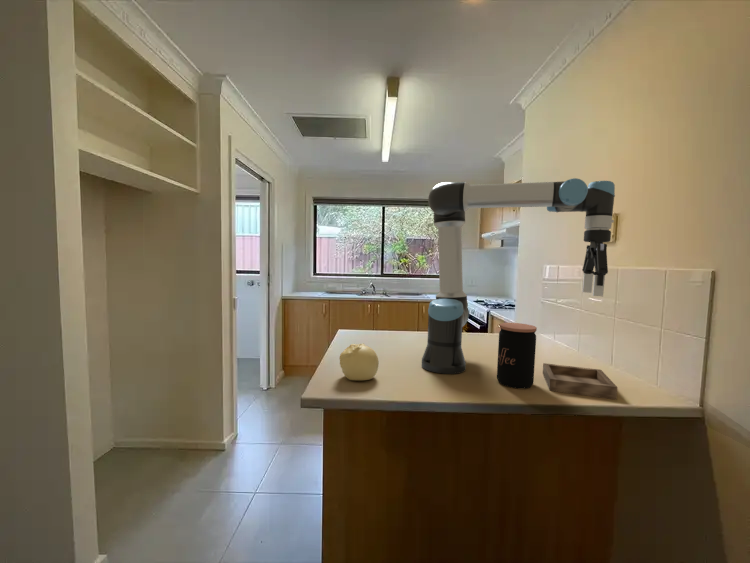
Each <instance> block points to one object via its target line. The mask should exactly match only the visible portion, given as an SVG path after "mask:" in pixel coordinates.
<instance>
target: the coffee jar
mask: <svg viewBox="0 0 750 563" xmlns="http://www.w3.org/2000/svg"><path fill="white" fill-rule="evenodd" d="M499 328H500V330H499V332H498V346H497V364H496V365H497V367H496V368H497V369H496V379H497V380H498V383H500V384H501V385H502V386H505V387H507V386H508V387H509V388H511V387H512V388H513V389H518V388H525V389H529V388H531V387H532V385H533V384H534V383H535V382H534V379H535V378H534V377H535V364H536V347H537V345H536V344H537V335H536V332H537V330H538V329H537V328H538V327H537V326H535V325H532V324H527V323H520V322H502V323H500V324H499ZM530 386H531V387H530Z"/></svg>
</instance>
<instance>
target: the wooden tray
mask: <svg viewBox="0 0 750 563" xmlns="http://www.w3.org/2000/svg"><path fill="white" fill-rule="evenodd" d="M542 365H543V366H542V375H543V378H544V380H545V382H546V385H547V389H548V390H549V391H552V392H557V391H558V393H565V394H574V395H581V396H589V397H596V398H604V399H611V400H617V398H618V386H617V385H616V384H615V383H614V382H613V381H612V380H611V379H610V378H609V377H608V376H607V374H606V373H605V372H604V371H603V370H602V369H597V368H590V367H580V366H571V365H563V364H562V365H561V364H556V363H555V364H553V363H546V362H545V363H544V362H543V364H542Z"/></svg>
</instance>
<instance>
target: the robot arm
mask: <svg viewBox="0 0 750 563" xmlns="http://www.w3.org/2000/svg"><path fill="white" fill-rule="evenodd" d="M615 186H616V185H615V183H614V182H613V181H611V180H599V181H591V182H589V183H588V185H587V183H586V182H585V181H584V180H583V179H580V178H575V177H574V178H570V179H567V180H565V181H563V180H562V181H541V182H539V181H538V182H516V183H515V182H514V183H512V182H511V183H483V184H481V183H480V184H469V183H468V182H467V181H445V182H440V183H437V184H436V185H434V187H432V188H431V190H430V191H429V194H428V197H427V200H428V201H427V203H428V207H429V208H430V210H431V211H432V212H433V225H434V226H435V227H436V228H437V234H438V235H437V237H438V240H437V241H438V242H437V243H438V270H439V271H438V276H439V292H438V293H437V294H436V295H435V299H433V300H431V301H430V302H429V304H428V309H427V312H428V313H427V314H428V316H427V318H428V319H427V321H428V322H427V344H426V347H425V349H424V353H423V355H422V357H421V368H422V369H424V370H426V371H428V372H432V373H437V374H444V375H445V374H447V375H452V374H453V375H454V374H461V373H464V372H465V371H466V360H465V356H464V352H463V349H462V343H463V342H462V338H463V327H464V326H465V325H466V324H467V322H468V321H469V317H470V310H469V307H468V295H467V294H466V293H465V291H464V290H463V288H464V287H463V250H462V249H463V247H462V246H463V245H462V242H463V241H462V228H463V226H464V225H465V224H466V211H467V210H468V209H485V208H487V209H488V208H489V209H491V208H492V209H493V208H494V209H495V208H496V209H497V208H498V209H499V208H540V207H541V208H543V207H544V208H546V210H547V211H548V212H549V213H551V212H553V213H564V212H566V213H568V212H569V213H570V212H574V213H575V212H581V213H585V218H584V229H585V231H584V232H583V241H584V242H585V243H590V244H588V245H586V252H585V256H584V261H583V264H582V272H583V278H582V279H583V280H582V291H581V292H582V293H588V294H589V293H590V294H591V293H592V297H604V293H605V292H604V289H605V280H606V279H605V278H606V275H607V274H608V273H609V270H608V269H609V268H608V252H607V248H608V244H607V243H609V242H611V240H612V239H611V238H612V231H611V230H610V229H612V223H615V220H614V219H613V214H614V213H613V212H614V205H615V204H614V203H615V197H616V194H615V193H616V192H615V189H616V188H615Z"/></svg>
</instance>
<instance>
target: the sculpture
mask: <svg viewBox="0 0 750 563" xmlns="http://www.w3.org/2000/svg"><path fill="white" fill-rule="evenodd" d="M339 366H340V368H341V372H342V374H344V377H345V378H347V380H350V381H369V380H372V379H373V378H374V377H375V376H376V375H377V372H378V369H379V357H378V355H377V353H376V351H375V350H374V349H373V348H372V347H370V346H368V345H366V344H365V343H351V344H350V345H349V346H347V347H346V348H345V349H344V350H343V351H342V352H341V353H340V355H339Z"/></svg>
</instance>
